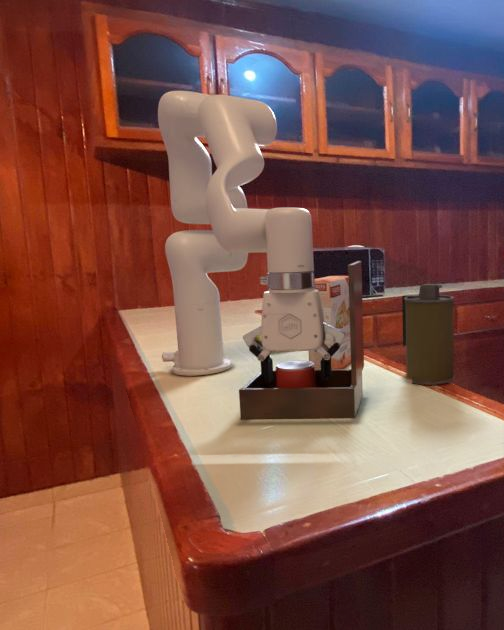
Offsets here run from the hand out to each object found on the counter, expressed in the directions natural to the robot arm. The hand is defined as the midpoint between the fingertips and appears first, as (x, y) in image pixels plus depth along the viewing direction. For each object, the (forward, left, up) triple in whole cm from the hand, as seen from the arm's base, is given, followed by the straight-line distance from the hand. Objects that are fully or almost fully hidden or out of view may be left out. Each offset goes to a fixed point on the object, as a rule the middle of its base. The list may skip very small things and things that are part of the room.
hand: (297, 381), depth 91 cm
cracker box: (+1, +30, -6) cm, 31 cm away
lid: (+10, 0, +11) cm, 15 cm away
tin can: (0, 0, -5) cm, 5 cm away
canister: (+23, +20, -6) cm, 31 cm away
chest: (+1, 0, -5) cm, 5 cm away
